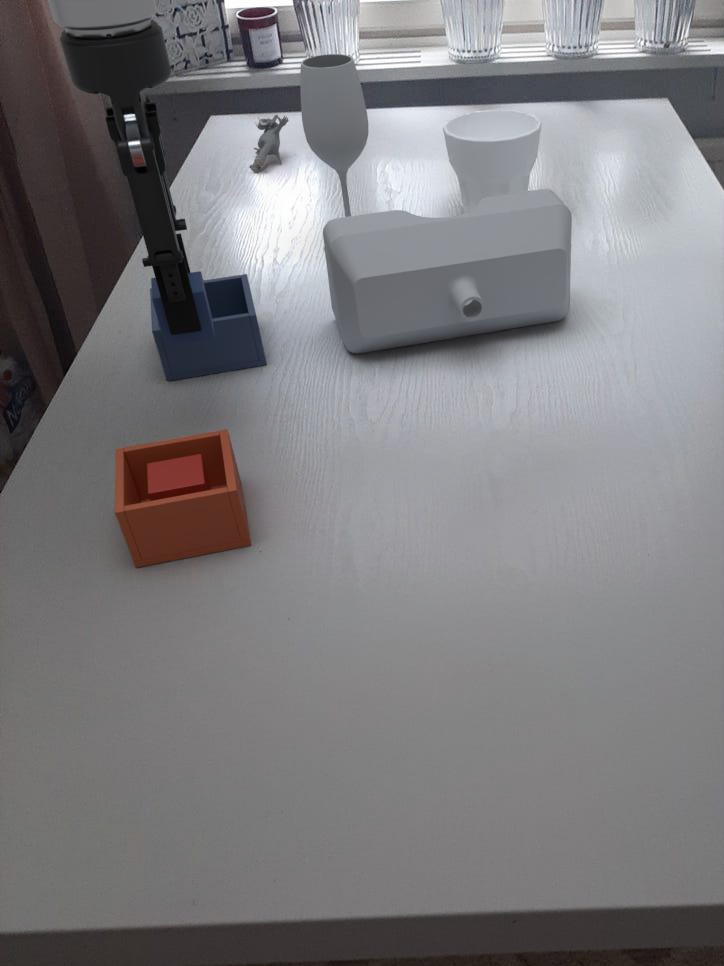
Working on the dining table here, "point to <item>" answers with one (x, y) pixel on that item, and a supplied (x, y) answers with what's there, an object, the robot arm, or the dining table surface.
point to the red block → (177, 477)
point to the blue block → (202, 311)
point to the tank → (449, 271)
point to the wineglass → (334, 113)
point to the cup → (492, 152)
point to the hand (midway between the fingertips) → (184, 318)
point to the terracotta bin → (180, 502)
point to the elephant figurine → (268, 141)
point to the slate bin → (217, 334)
